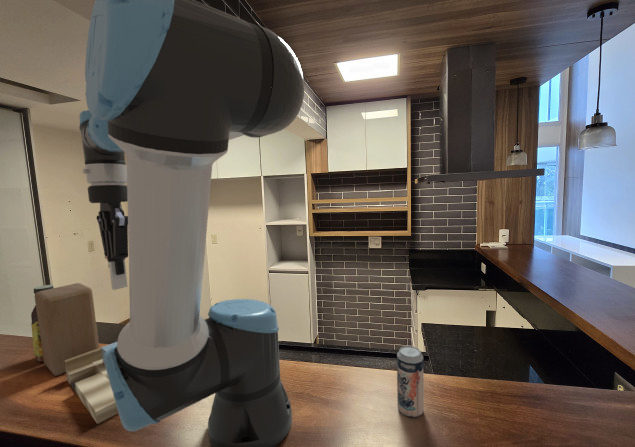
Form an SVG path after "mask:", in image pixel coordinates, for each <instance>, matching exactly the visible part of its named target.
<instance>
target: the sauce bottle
mask: <svg viewBox="0 0 635 447" xmlns="http://www.w3.org/2000/svg"><path fill="white" fill-rule="evenodd" d="M52 288H54V285H53V284H45V285H39V286H35V287H33V294H34V295H35V293H37V292H39V291H43V290H48V289H52ZM30 318H31V323H30V324H31V334H32V345H33V346H32V348H33V355H34V358H35V361H36V362H39V363H40V362H41V363H42V362H43V363H44V359H43V352H42V345H41V338H40V331H39V324H38V317H37V311H36V304H35V305H34V308H33V309H32V311H31V317H30Z"/></svg>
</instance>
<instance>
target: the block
mask: <svg viewBox="0 0 635 447" xmlns="http://www.w3.org/2000/svg"><path fill="white" fill-rule="evenodd" d="M93 294H94V293H93V289H92V288H91V287H88V285H87V286H86V285H84V284H83V283H81V282H76V283H72V284H67V285H64V286H58V287H53V288H52V289H48V290H43V291H39V292H37V293H35V294H34V302H35V305H36V311H37V317H38V324H39V331H40V338H41V345H42V352H43V359H44V361H43V363H44V366H46V367H47V368H48V370H49V371H50V372H51V373H52V374H53V376H59V375H62V374H64V373H65V374H66V368H65V361H64V360H67V359H70V358H73V357H75V356H78V355H81V354H84V353H87V352H89V351H92V350H95V349H98V348H100V344H99V336H98V326H97V319H96V312H95V311H96V310H95V304H94V302H95V301H94V297H93V296H94V295H93Z"/></svg>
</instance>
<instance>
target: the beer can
mask: <svg viewBox="0 0 635 447" xmlns="http://www.w3.org/2000/svg"><path fill="white" fill-rule="evenodd" d="M398 350H399V351H397V354H396V380H397V381H396V386H397V388H396V391H397V393H396V394H397V396H396V398H397V400H396V401H397V409H398V411H399V412H401V414H402V415H404V416H407V417H411V416H412V417H413V418H415V417H419V416H421V415H423V412H424V356H423V354H422V352H421V350H420V349H419V348H418V347H415V346H410V345H405V346H401V347H400V349H398Z"/></svg>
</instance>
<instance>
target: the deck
mask: <svg viewBox="0 0 635 447" xmlns="http://www.w3.org/2000/svg"><path fill="white" fill-rule="evenodd" d="M64 361H65V368H66V372H65V374H66V380H67V383H68V384H69V386H70V387H71V388H72V389H73V390H74V392H75V395H77V396H78V398H79V399H80V401H81V403H82V404H83V406H85V408H86V410H87V411H88V413H89V414H90V416H91V417H92V419H93V420H94V421H95V423H96V424H97V425H98V424H101V423H103V422H104V421H107V420H108V419H110V418H112V417H115V415H119V413H118V409H117V406H116V402H115V398H114V395H113V391H112V388H111V385H110V381H109V378H108V374H107V371H106V367H105V364H104V363H103V358H102V350H101V347H99V348H98V349H95V350H92V351H89V352H87V353H84V354H81V355H78V356H75V357H73V358H70V359H67V360H64Z"/></svg>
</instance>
